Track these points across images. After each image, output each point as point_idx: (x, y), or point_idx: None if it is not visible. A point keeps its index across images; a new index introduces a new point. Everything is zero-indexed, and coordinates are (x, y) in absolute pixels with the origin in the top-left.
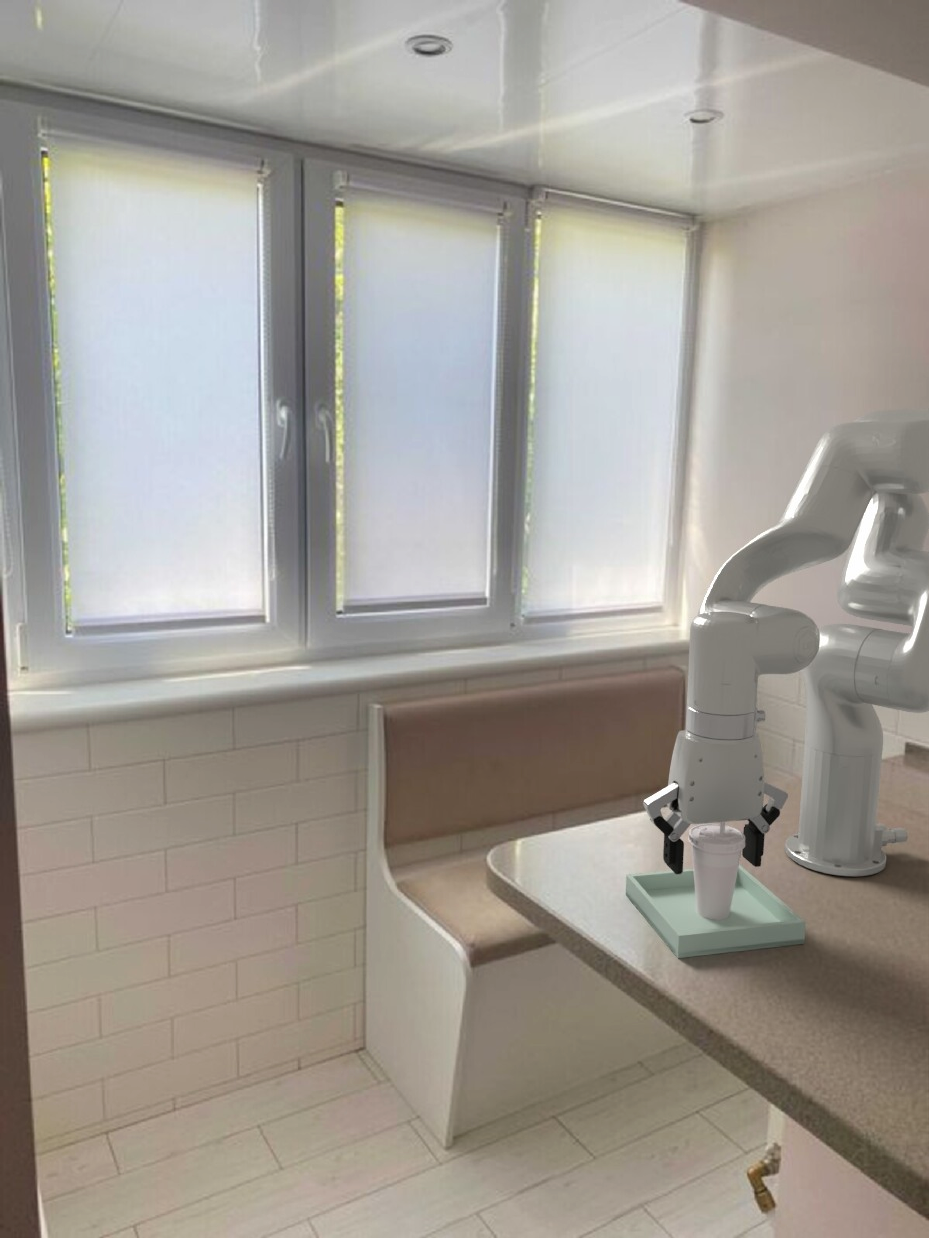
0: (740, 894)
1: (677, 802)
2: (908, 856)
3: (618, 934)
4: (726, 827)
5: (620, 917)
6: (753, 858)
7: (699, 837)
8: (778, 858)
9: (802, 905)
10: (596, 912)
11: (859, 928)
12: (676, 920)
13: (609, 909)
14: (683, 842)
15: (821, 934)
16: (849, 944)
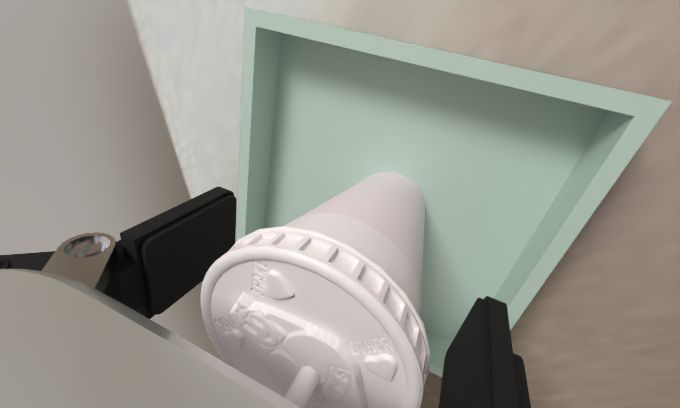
0: (530, 179)
1: (6, 299)
2: None
3: (210, 157)
4: (393, 347)
5: (231, 109)
6: (446, 368)
7: (223, 322)
8: None
9: (655, 285)
10: (199, 68)
11: (645, 402)
12: (301, 190)
13: (224, 68)
14: (157, 313)
15: (535, 359)
16: (546, 401)
